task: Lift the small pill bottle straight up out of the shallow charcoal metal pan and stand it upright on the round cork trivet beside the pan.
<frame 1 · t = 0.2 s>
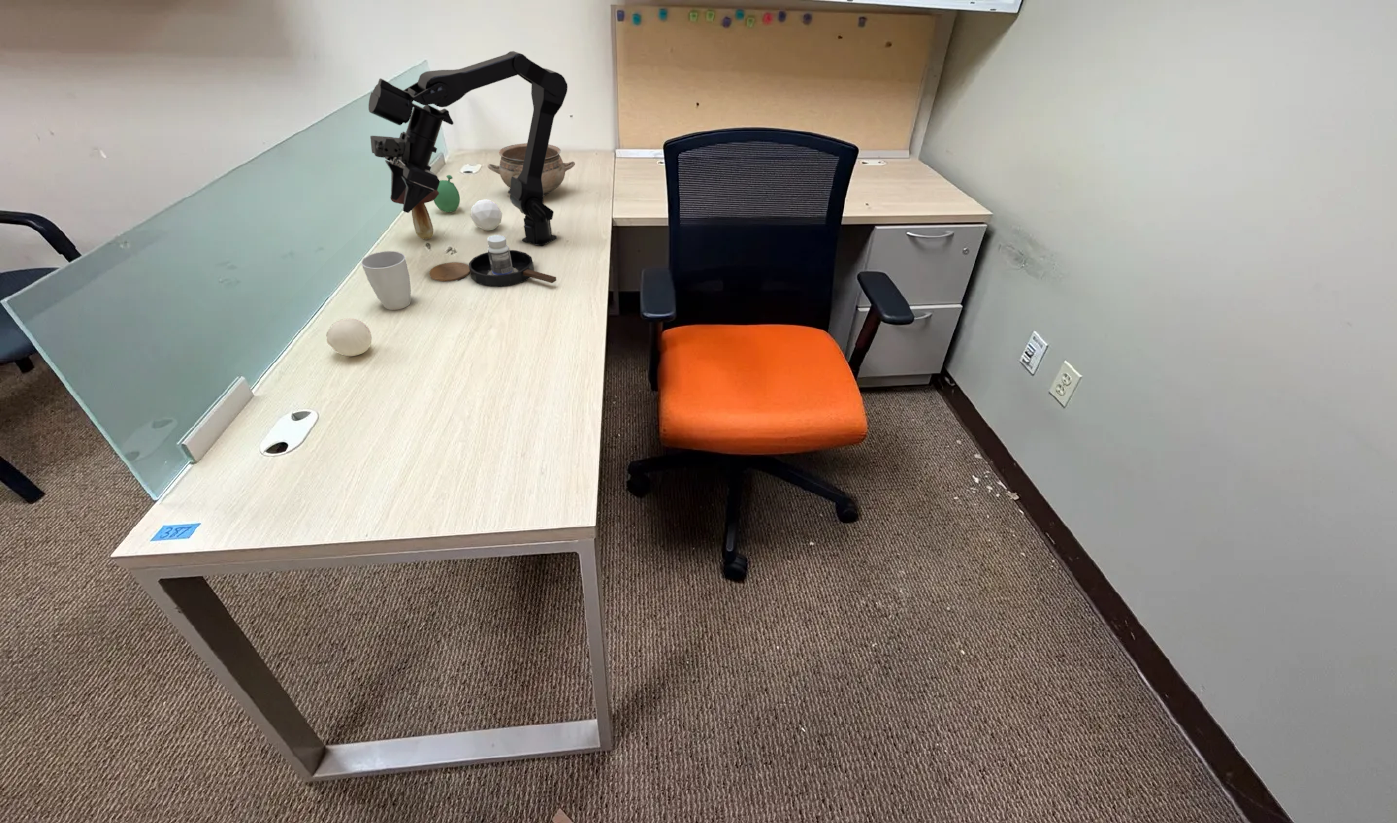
hand: (399, 205, 130), 15 cm above the table, tool tilted 30°, fingers open, 9 cm apart
alien toy: (449, 211, 168), on the table
decorative mushroom: (426, 239, 153), on the table
cup: (397, 304, 126), on the table
pan: (502, 272, 139), on the table
cooking pot: (535, 194, 181), on the table
trivet: (450, 272, 138), on the table
pill bottle: (503, 273, 139), resting in pan
cream oval shape: (355, 353, 111), on the table
ball: (489, 229, 159), on the table
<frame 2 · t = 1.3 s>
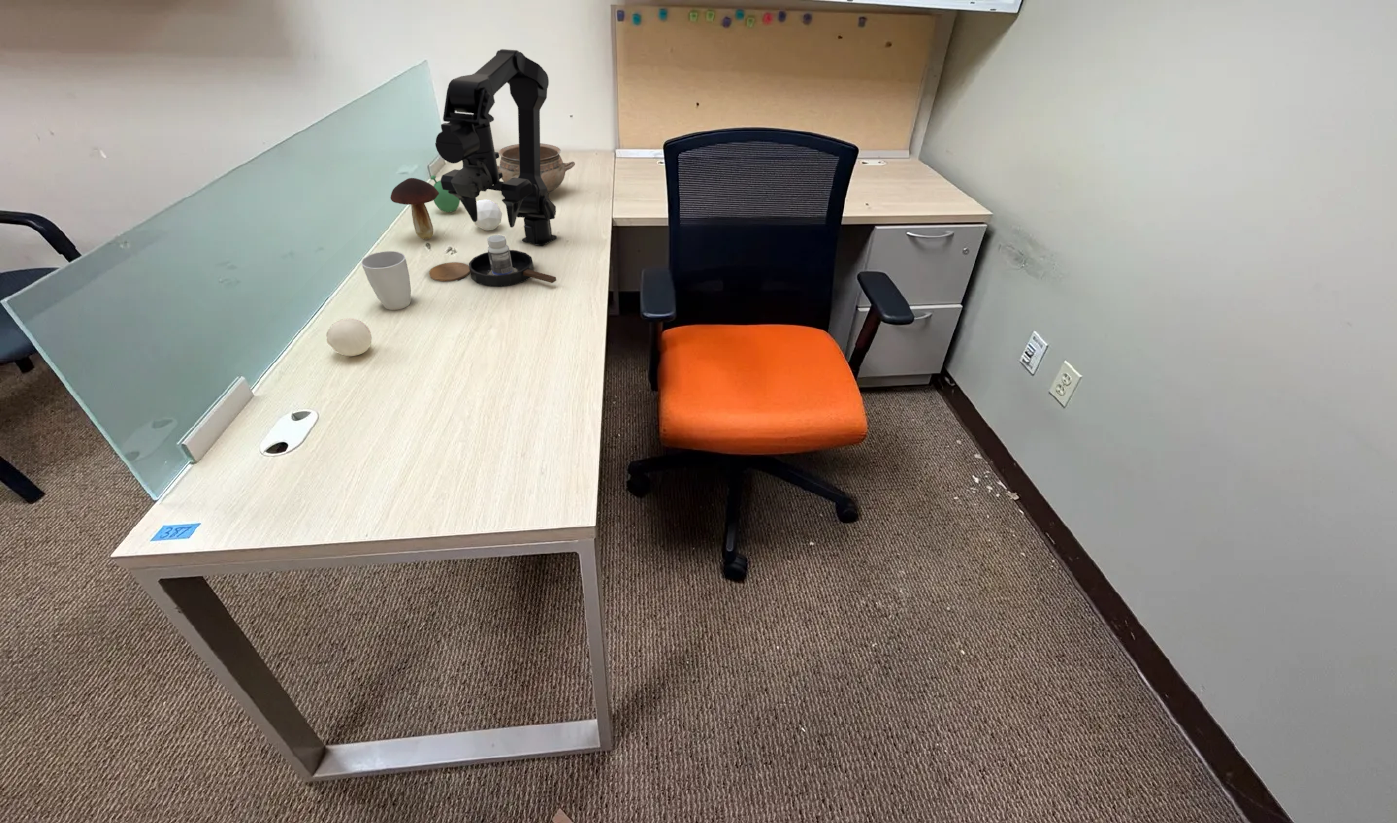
hand: (493, 224, 131), 12 cm above the table, tool pointing down, fingers open, 9 cm apart
nothing on the table moved.
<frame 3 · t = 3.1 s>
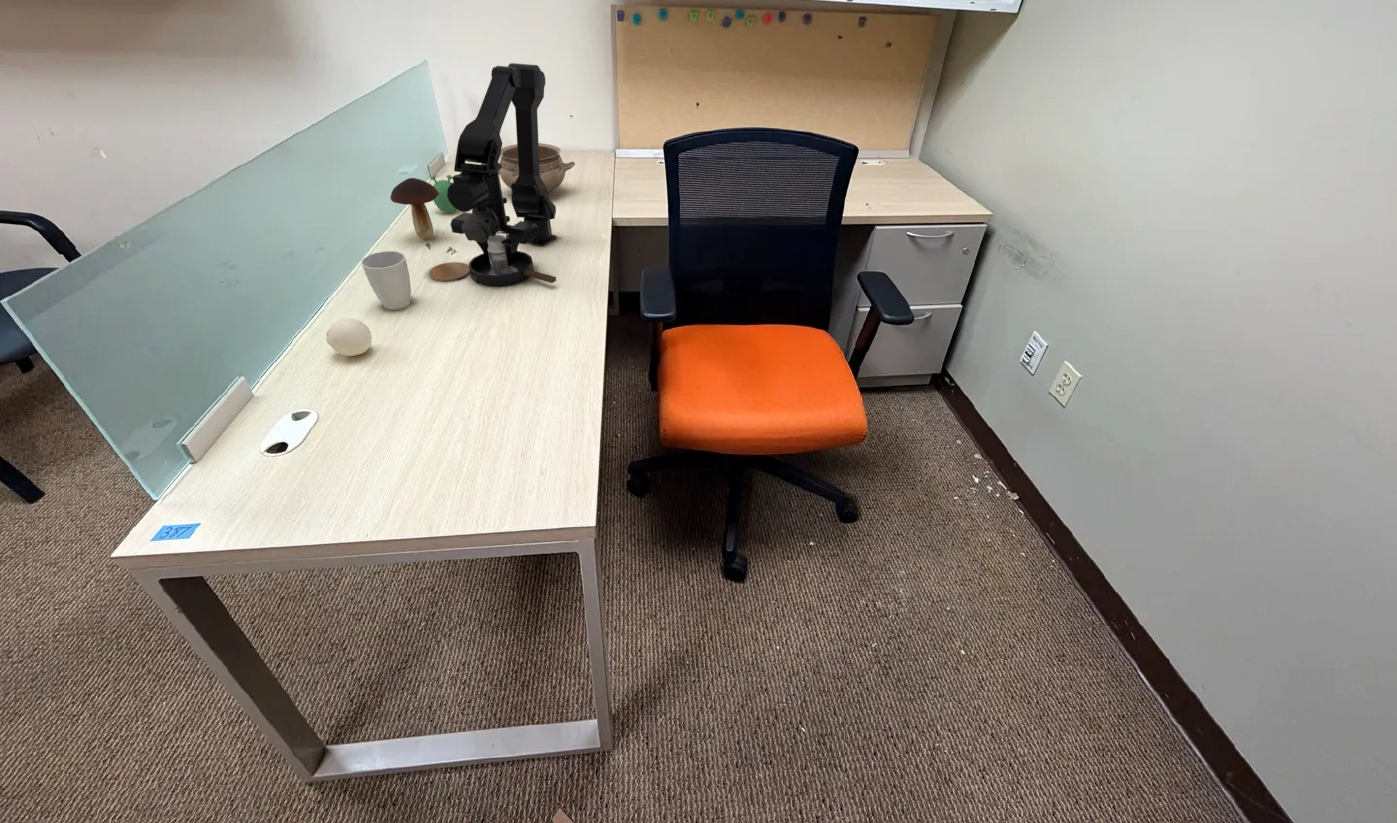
hand: (501, 263, 137), 2 cm above the table, tool pointing down, fingers closed on pill bottle, 5 cm apart
pill bottle: (503, 273, 139), resting in pan, touching gripper
everything else where it was.
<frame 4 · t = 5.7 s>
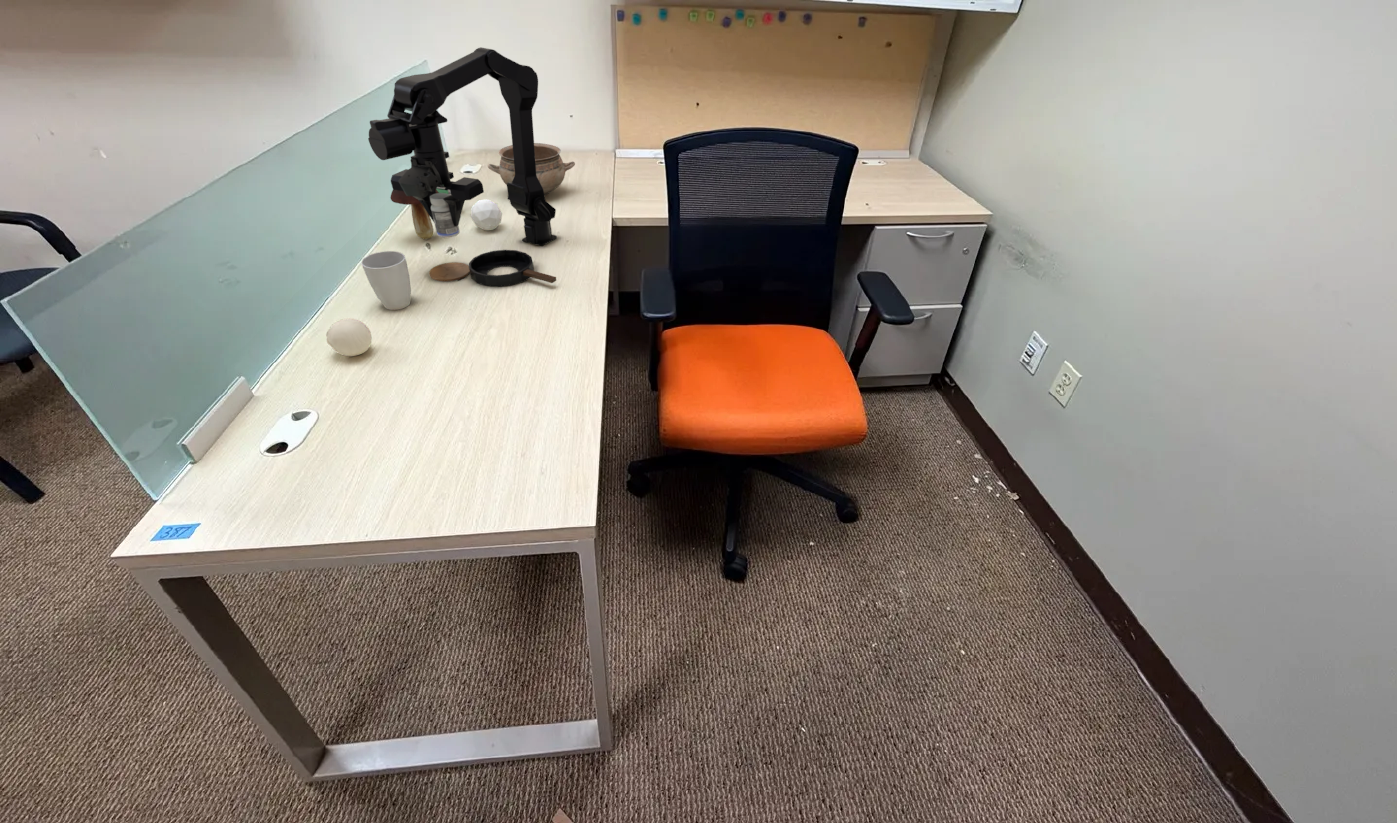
hand: (446, 224, 131), 11 cm above the table, tool pointing down, fingers closed on pill bottle, 5 cm apart
pill bottle: (448, 234, 132), point 9 cm above the table, touching gripper
everything else where it was.
when the fingers open (3 cm above the table, at t = 8.2 s): pill bottle stays where it is, resting on trivet.
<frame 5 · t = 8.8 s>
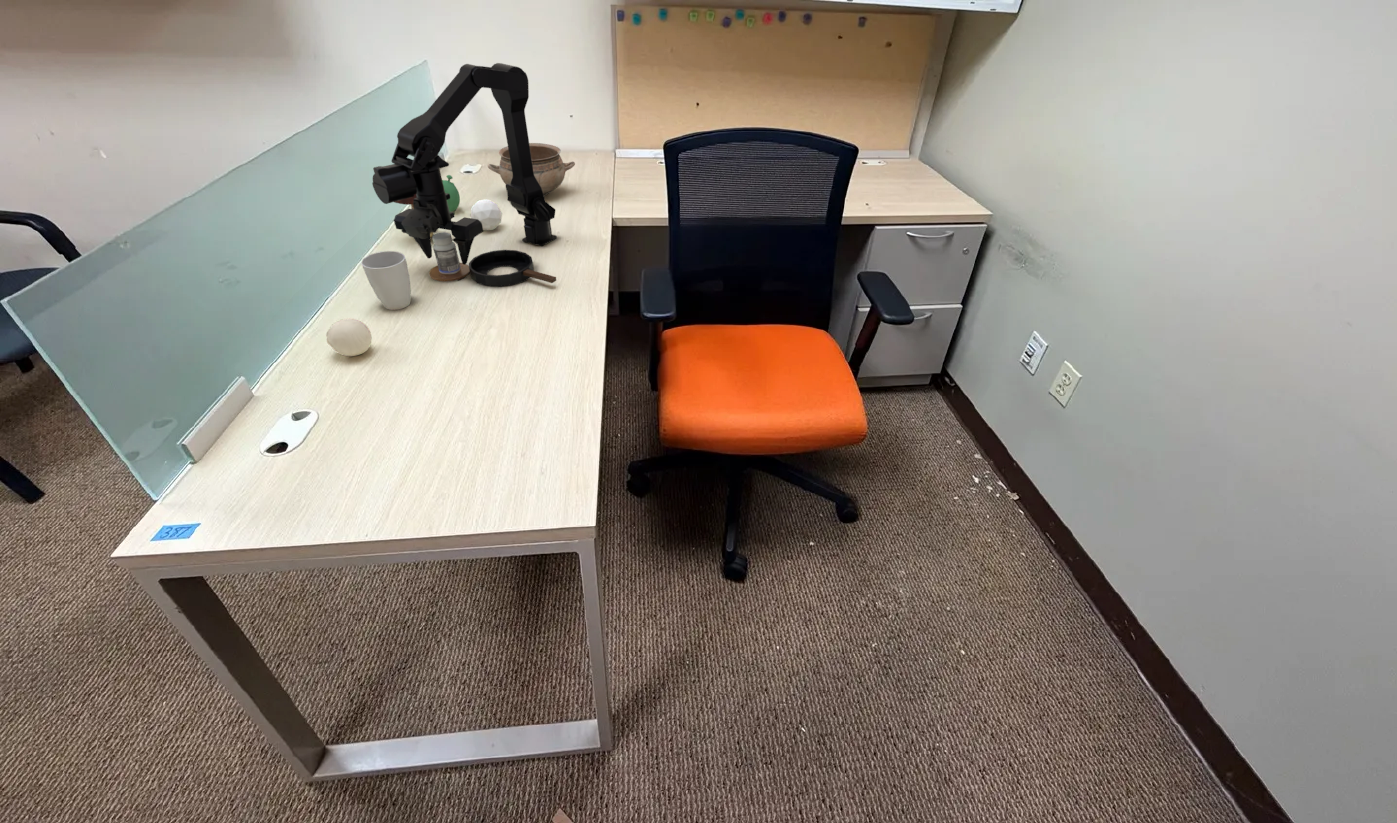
hand: (447, 260, 136), 3 cm above the table, tool pointing down, fingers open, 9 cm apart
pill bottle: (450, 271, 138), resting on trivet
everything else where it was.
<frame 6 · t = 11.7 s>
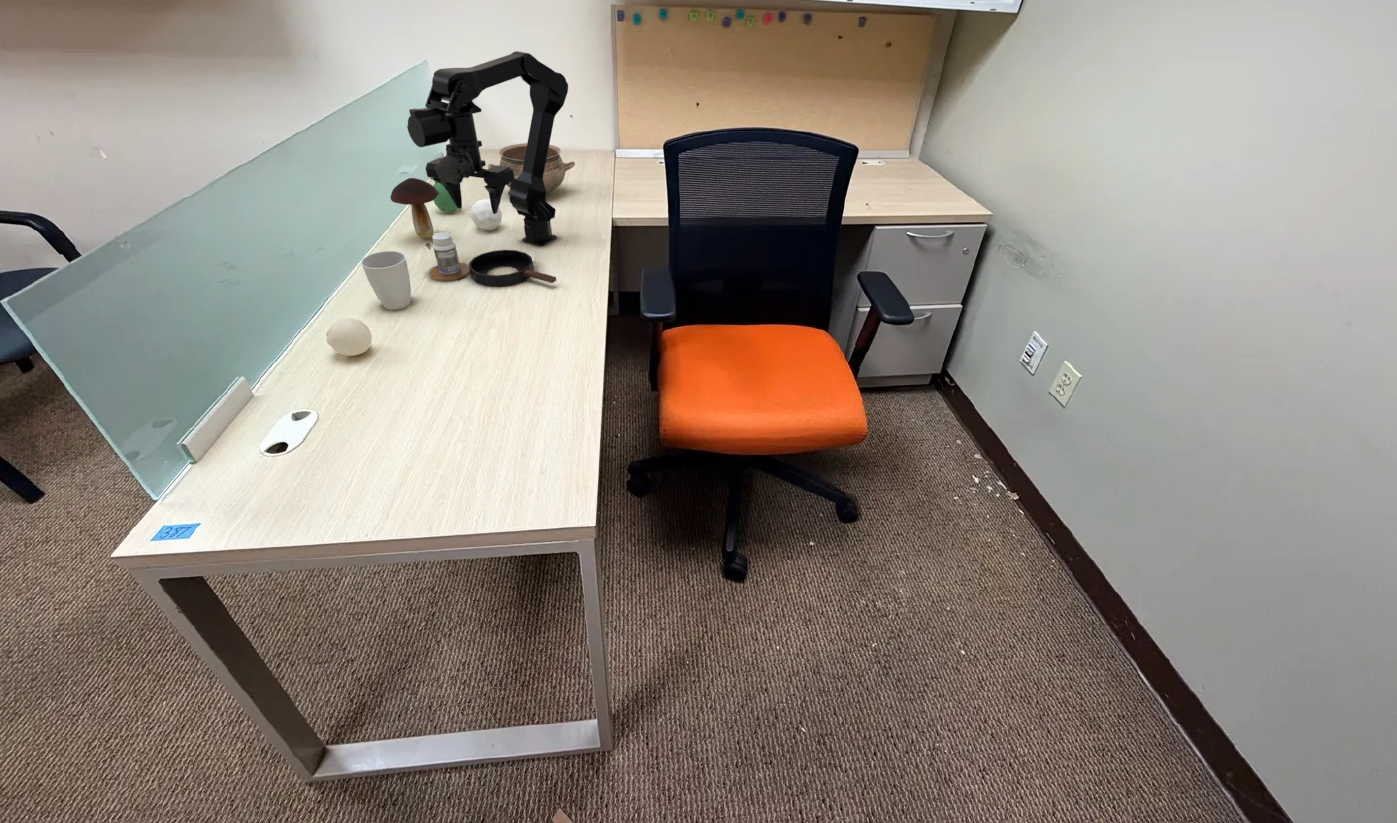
hand: (477, 210, 136), 12 cm above the table, tool pointing down, fingers open, 9 cm apart
nothing on the table moved.
at the end: pill bottle 0.1 cm off-centre on the trivet, point 0.3 cm above the trivet's base; pill bottle tilted 0°; pill bottle touching trivet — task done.
